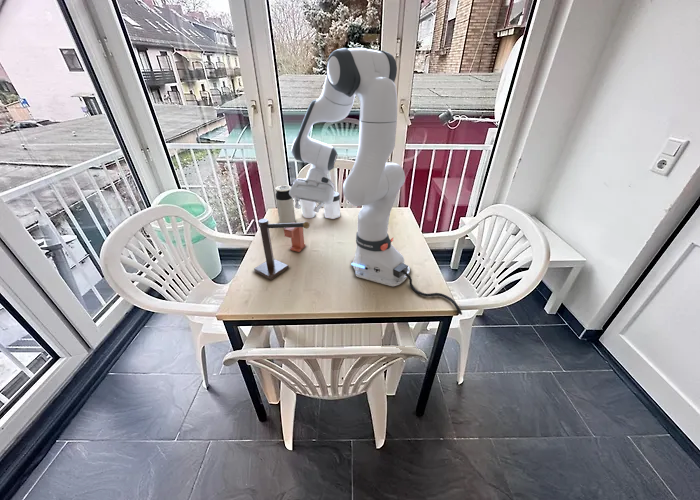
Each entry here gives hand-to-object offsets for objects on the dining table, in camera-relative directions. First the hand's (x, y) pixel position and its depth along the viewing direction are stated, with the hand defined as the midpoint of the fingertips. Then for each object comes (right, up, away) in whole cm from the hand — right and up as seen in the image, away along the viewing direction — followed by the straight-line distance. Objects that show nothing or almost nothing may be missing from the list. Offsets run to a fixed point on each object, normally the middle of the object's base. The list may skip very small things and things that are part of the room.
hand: (306, 209), depth 122 cm
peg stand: (-7, -25, -12) cm, 28 cm away
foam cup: (-3, +1, +28) cm, 28 cm away
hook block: (-4, -17, -1) cm, 18 cm away
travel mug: (-13, -3, +22) cm, 25 cm away
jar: (+9, +1, +28) cm, 30 cm away
